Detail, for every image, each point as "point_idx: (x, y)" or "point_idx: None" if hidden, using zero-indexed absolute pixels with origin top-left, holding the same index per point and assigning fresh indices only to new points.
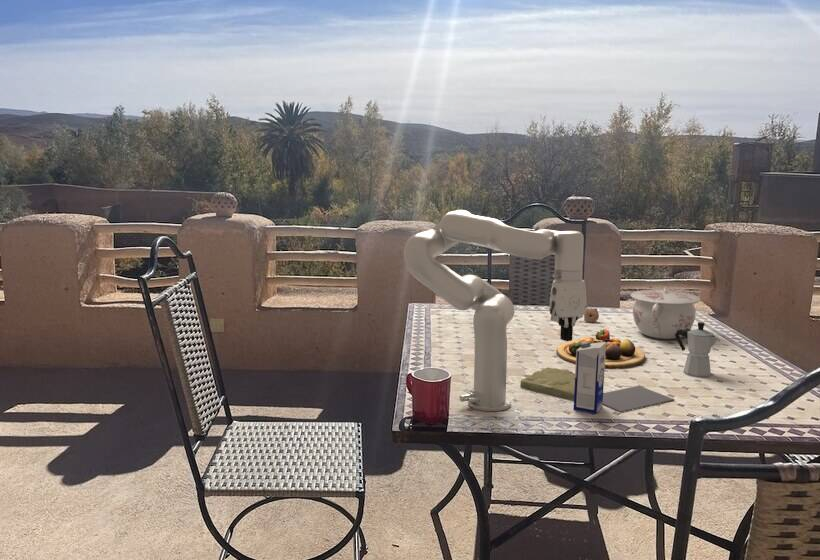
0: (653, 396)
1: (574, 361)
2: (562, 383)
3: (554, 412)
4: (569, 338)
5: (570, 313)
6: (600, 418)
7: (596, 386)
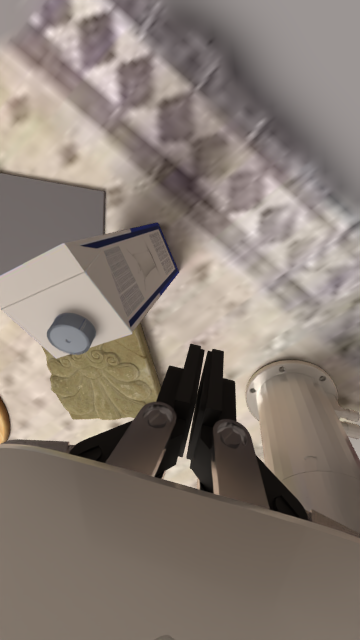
0: None
1: (2, 410)
2: (113, 355)
3: (224, 288)
4: (209, 356)
5: (262, 575)
6: (171, 197)
7: (137, 231)
